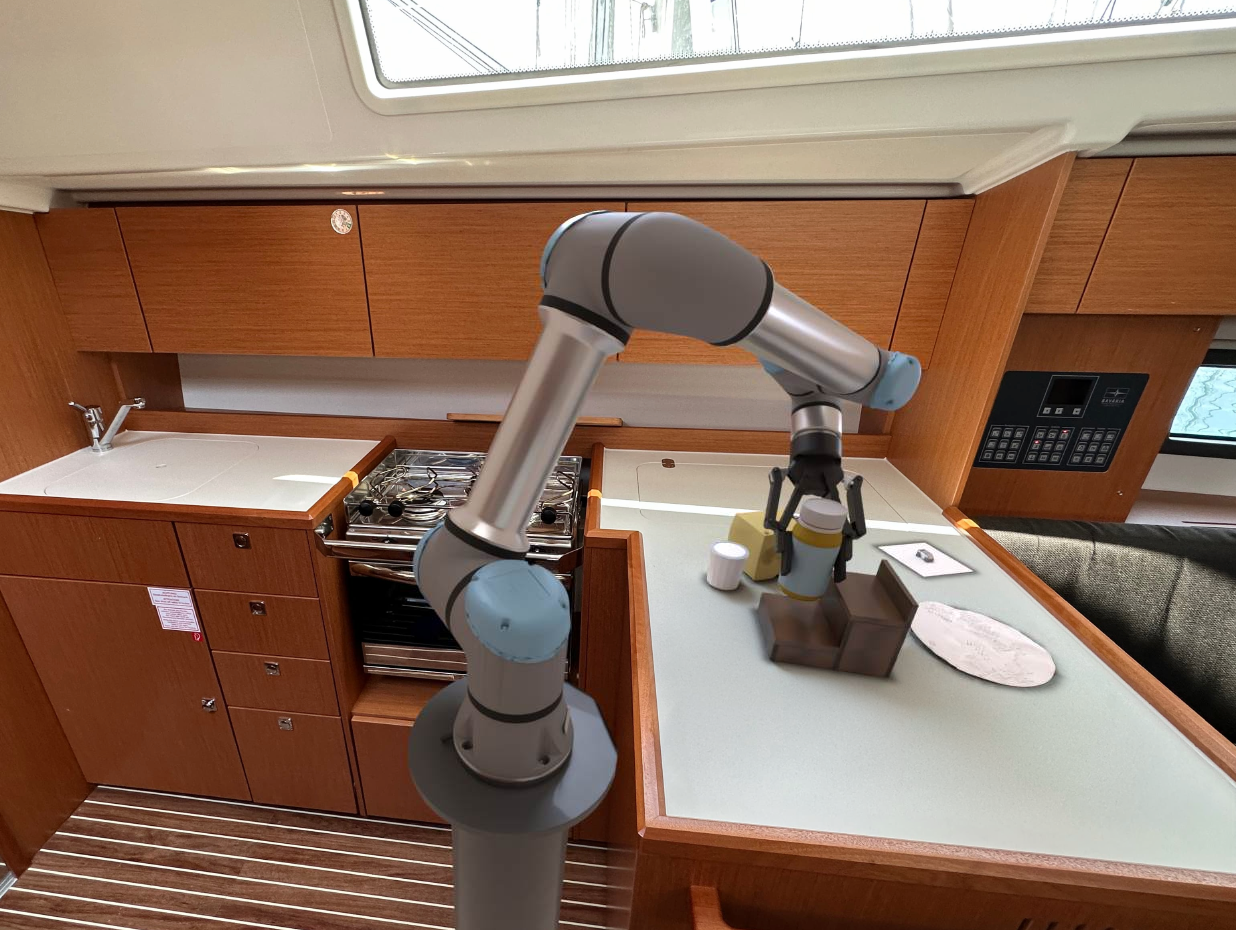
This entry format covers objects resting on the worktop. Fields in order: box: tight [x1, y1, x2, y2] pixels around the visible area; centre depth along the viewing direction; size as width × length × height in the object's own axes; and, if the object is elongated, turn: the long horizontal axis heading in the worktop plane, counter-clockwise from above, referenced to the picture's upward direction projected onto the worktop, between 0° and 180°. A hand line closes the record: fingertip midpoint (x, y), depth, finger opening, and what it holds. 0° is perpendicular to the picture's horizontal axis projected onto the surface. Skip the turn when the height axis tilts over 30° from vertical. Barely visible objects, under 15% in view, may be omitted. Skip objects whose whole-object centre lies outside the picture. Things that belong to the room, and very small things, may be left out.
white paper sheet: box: [878, 542, 974, 578], centre depth 119 cm, size 12×12×2 cm
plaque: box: [910, 601, 1056, 688], centre depth 95 cm, size 20×20×2 cm
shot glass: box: [706, 540, 749, 591], centre depth 107 cm, size 7×7×7 cm
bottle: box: [777, 497, 849, 602], centre depth 90 cm, size 7×7×15 cm
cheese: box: [727, 507, 797, 582], centre depth 112 cm, size 10×11×10 cm
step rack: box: [756, 558, 919, 679], centre depth 91 cm, size 17×13×13 cm
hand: (812, 577), depth 88 cm, fingers closed on bottle, 7 cm apart
